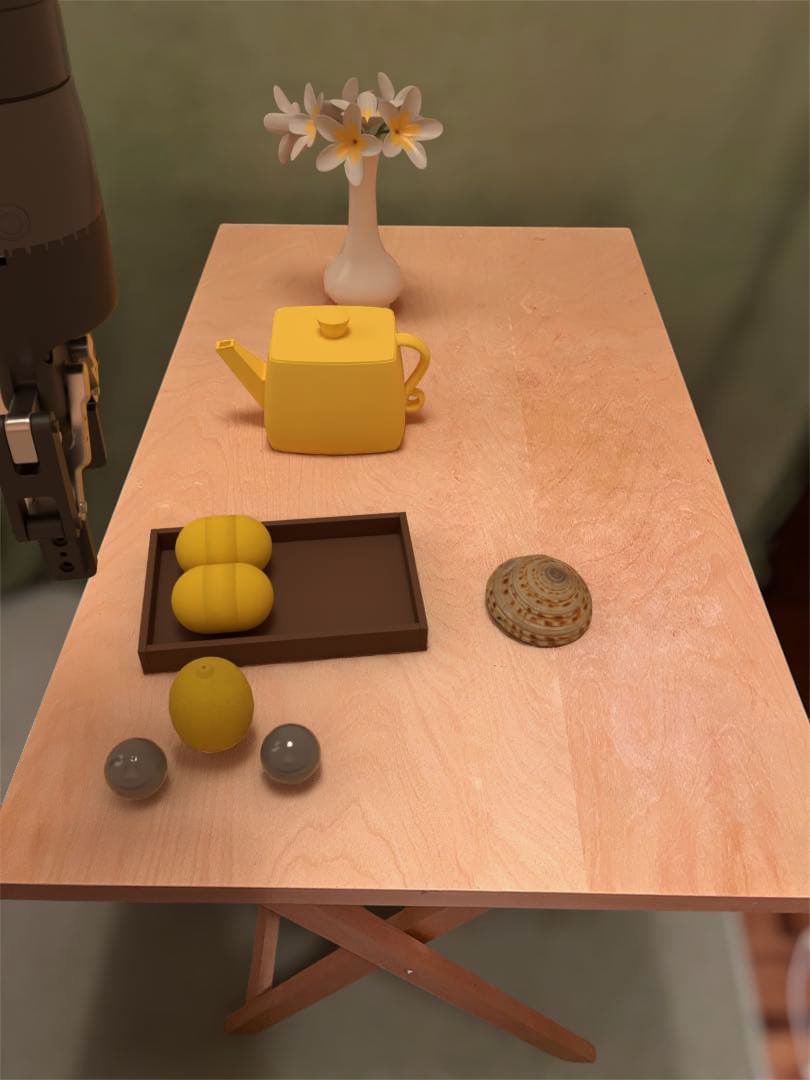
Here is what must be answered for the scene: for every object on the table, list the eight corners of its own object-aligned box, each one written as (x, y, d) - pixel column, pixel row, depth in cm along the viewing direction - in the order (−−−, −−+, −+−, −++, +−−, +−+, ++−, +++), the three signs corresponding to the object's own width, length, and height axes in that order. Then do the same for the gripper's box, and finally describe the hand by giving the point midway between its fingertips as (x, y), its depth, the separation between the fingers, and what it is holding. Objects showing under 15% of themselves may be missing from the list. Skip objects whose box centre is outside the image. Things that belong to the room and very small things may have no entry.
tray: (143, 674, 67) (137, 651, 66) (155, 551, 77) (150, 528, 75) (427, 650, 70) (428, 628, 68) (404, 533, 79) (405, 511, 77)
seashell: (540, 532, 76) (606, 557, 70) (548, 591, 79) (613, 621, 72) (460, 568, 73) (523, 598, 66) (472, 629, 75) (533, 664, 69)
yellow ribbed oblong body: (175, 651, 68) (164, 604, 65) (178, 600, 72) (168, 553, 69) (277, 642, 69) (271, 595, 66) (275, 593, 73) (270, 546, 69)
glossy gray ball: (107, 815, 59) (94, 781, 56) (113, 762, 62) (101, 727, 59) (170, 808, 60) (160, 775, 57) (173, 756, 62) (164, 722, 60)
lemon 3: (262, 708, 65) (252, 634, 60) (253, 775, 61) (241, 703, 56) (185, 707, 65) (168, 633, 60) (171, 774, 61) (151, 702, 56)
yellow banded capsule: (178, 597, 72) (168, 550, 69) (181, 552, 76) (172, 505, 72) (275, 590, 73) (270, 543, 70) (273, 545, 77) (268, 499, 73)
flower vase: (297, 273, 113) (283, 53, 96) (443, 291, 111) (456, 68, 94) (265, 325, 104) (243, 92, 87) (423, 346, 102) (433, 110, 85)
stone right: (263, 799, 60) (257, 765, 57) (262, 748, 63) (257, 713, 60) (323, 793, 61) (321, 759, 58) (320, 742, 63) (317, 708, 61)
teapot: (219, 458, 86) (203, 349, 78) (233, 384, 95) (220, 280, 87) (430, 458, 87) (436, 350, 79) (424, 385, 96) (429, 282, 88)
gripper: (-66, 139, 40) (21, 440, 51) (-149, 290, 30) (-18, 627, 41) (110, 137, 41) (158, 430, 52) (89, 281, 31) (155, 609, 42)
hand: (81, 516), depth 46 cm, fingers open, 8 cm apart
